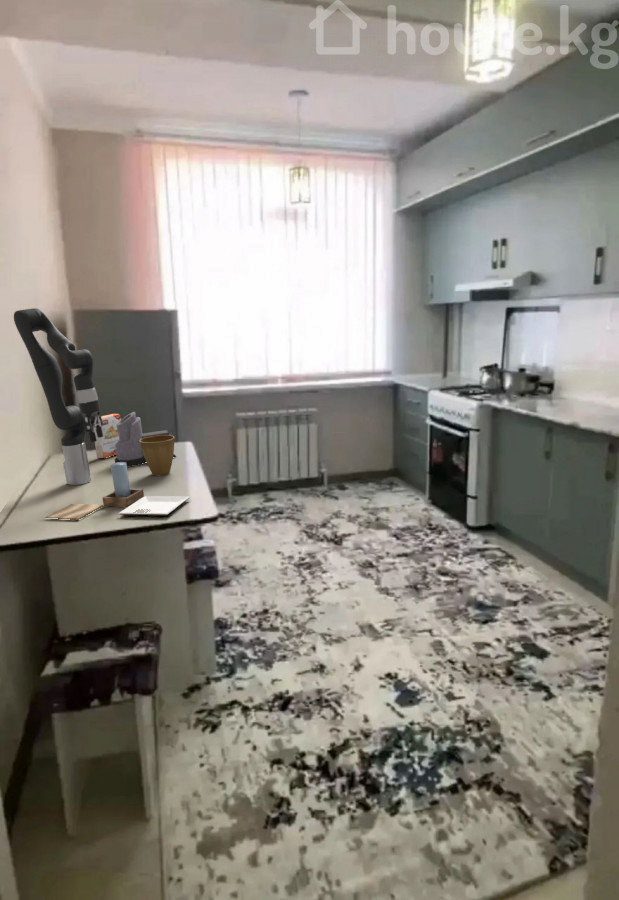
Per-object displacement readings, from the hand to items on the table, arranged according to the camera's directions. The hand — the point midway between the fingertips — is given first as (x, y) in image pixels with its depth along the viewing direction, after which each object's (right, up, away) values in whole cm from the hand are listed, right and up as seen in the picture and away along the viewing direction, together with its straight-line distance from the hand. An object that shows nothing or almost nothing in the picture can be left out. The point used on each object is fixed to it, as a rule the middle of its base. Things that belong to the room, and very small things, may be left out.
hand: (97, 439), depth 232 cm
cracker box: (-16, -7, +63) cm, 65 cm away
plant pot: (+21, -15, +21) cm, 33 cm away
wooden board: (+1, -27, -25) cm, 37 cm away
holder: (+16, -24, -17) cm, 33 cm away
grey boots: (+6, -10, +47) cm, 49 cm away
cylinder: (+16, -24, -17) cm, 34 cm away
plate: (+31, -26, -27) cm, 48 cm away
